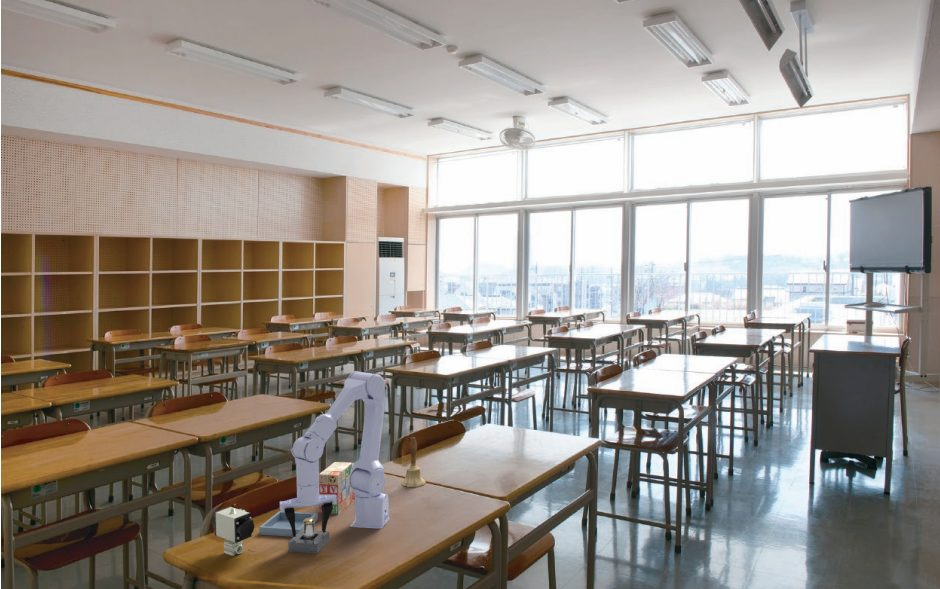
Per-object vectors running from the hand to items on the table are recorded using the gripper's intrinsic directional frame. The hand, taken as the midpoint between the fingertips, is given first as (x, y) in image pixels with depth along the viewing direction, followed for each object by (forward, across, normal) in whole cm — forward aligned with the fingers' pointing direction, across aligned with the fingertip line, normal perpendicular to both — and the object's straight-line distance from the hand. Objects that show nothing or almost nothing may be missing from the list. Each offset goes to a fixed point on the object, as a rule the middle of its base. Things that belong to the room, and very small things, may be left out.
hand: (309, 533), depth 173 cm
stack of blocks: (+4, -14, -32) cm, 35 cm away
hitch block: (+4, 0, 0) cm, 4 cm away
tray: (+4, +4, -15) cm, 16 cm away
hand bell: (+4, -40, -39) cm, 56 cm away
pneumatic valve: (+4, +18, -4) cm, 19 cm away
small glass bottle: (+3, 0, 0) cm, 3 cm away
